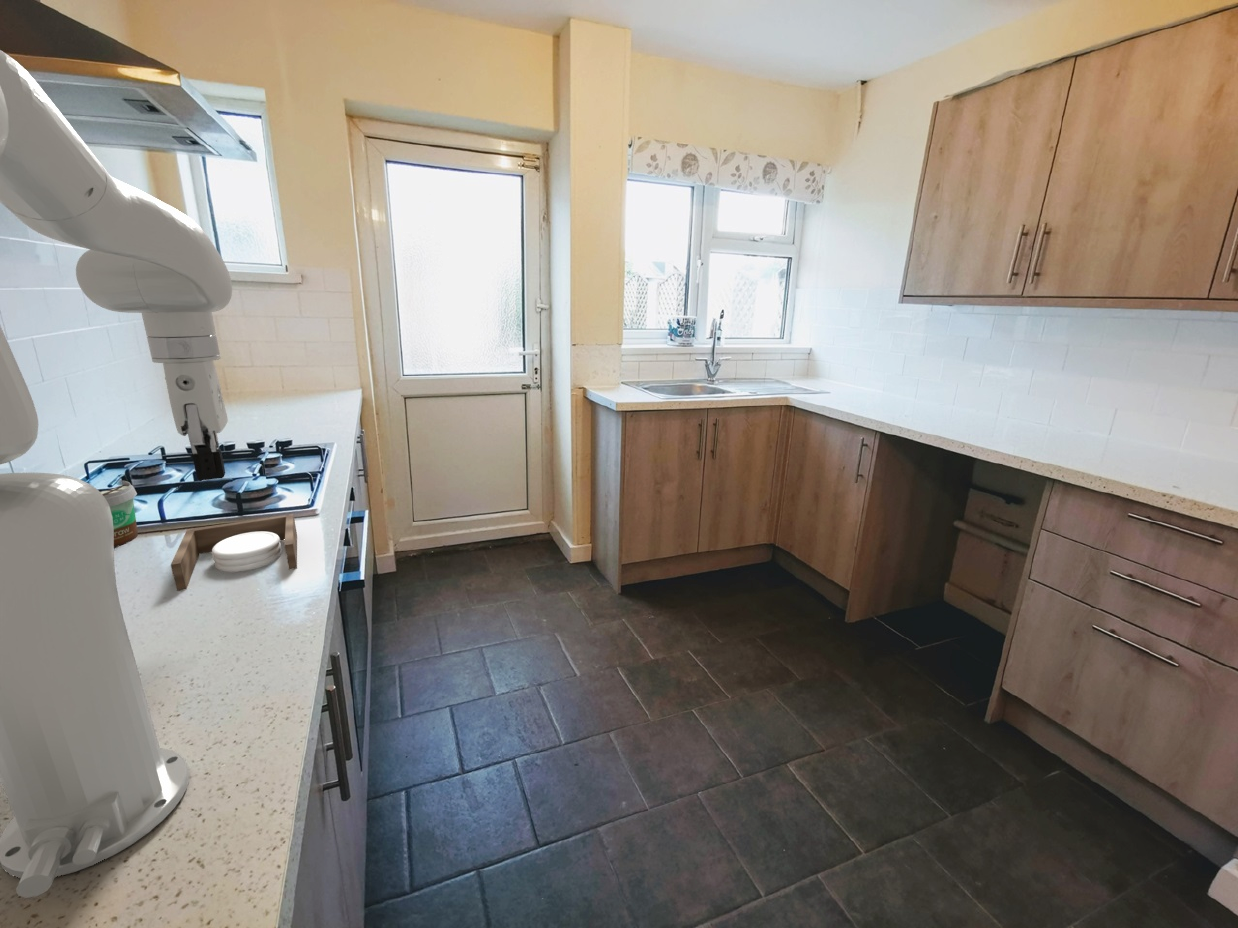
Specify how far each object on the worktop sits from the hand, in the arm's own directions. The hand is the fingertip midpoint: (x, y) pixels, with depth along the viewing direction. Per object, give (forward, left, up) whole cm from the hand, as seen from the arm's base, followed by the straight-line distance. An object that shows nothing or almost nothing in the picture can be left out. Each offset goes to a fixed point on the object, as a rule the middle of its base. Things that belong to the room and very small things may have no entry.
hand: (211, 477), depth 81 cm
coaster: (+13, -1, -19) cm, 23 cm away
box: (+12, 0, -19) cm, 22 cm away
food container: (+32, +21, -19) cm, 43 cm away
